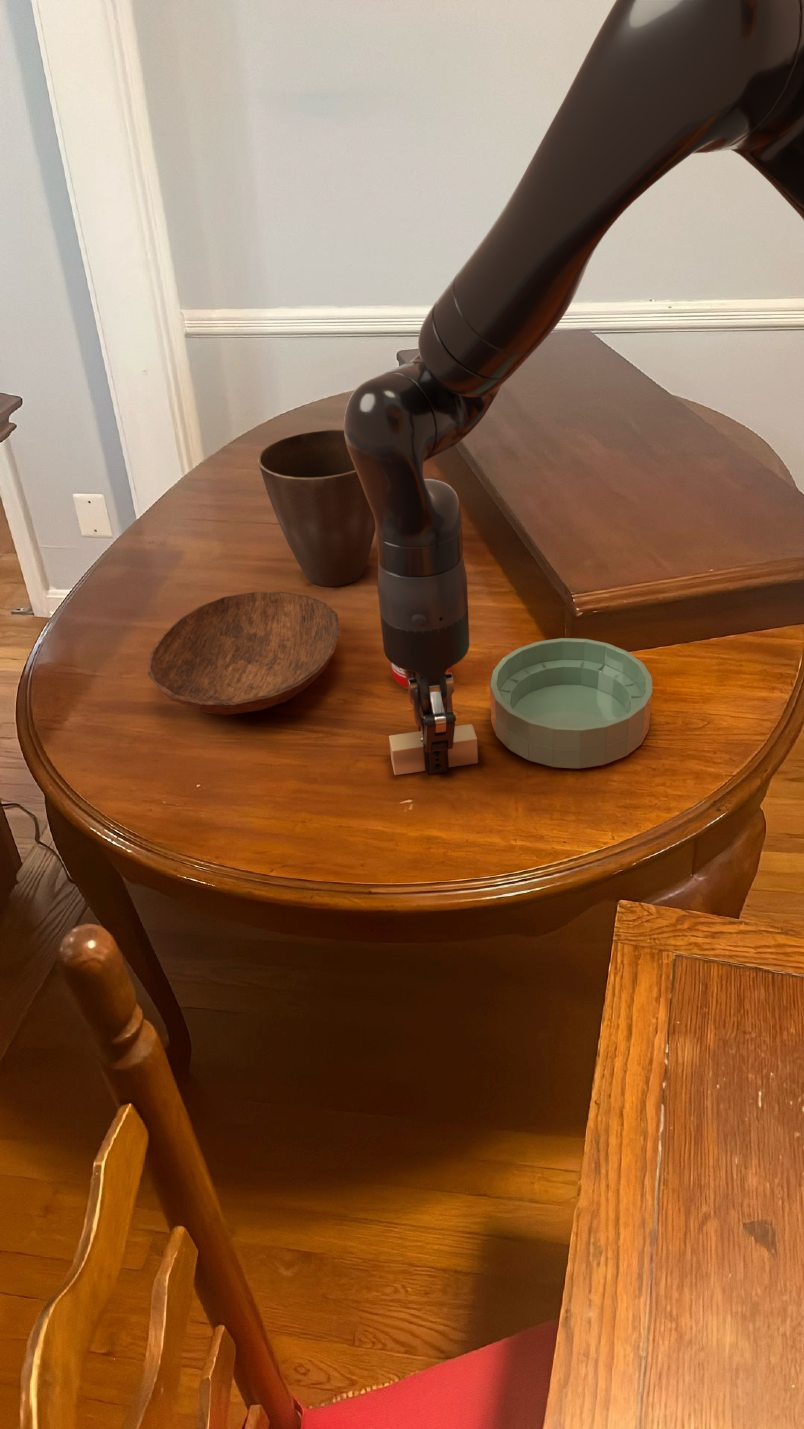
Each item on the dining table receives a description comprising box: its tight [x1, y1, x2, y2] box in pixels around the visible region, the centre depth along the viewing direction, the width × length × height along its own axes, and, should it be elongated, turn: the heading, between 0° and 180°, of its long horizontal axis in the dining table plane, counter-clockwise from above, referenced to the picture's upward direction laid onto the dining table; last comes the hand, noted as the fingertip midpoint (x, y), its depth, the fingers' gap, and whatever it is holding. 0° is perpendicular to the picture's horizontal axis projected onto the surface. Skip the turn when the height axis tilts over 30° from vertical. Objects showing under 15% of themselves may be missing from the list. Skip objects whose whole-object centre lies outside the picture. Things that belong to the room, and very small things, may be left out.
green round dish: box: [489, 637, 654, 770], centre depth 97 cm, size 15×15×5 cm
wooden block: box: [388, 723, 479, 776], centre depth 94 cm, size 8×2×3 cm, turn 98°
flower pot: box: [257, 428, 376, 587], centre depth 121 cm, size 15×15×16 cm
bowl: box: [147, 591, 342, 716], centre depth 106 cm, size 20×22×5 cm
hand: (434, 760), depth 95 cm, fingers closed on wooden block, 2 cm apart
